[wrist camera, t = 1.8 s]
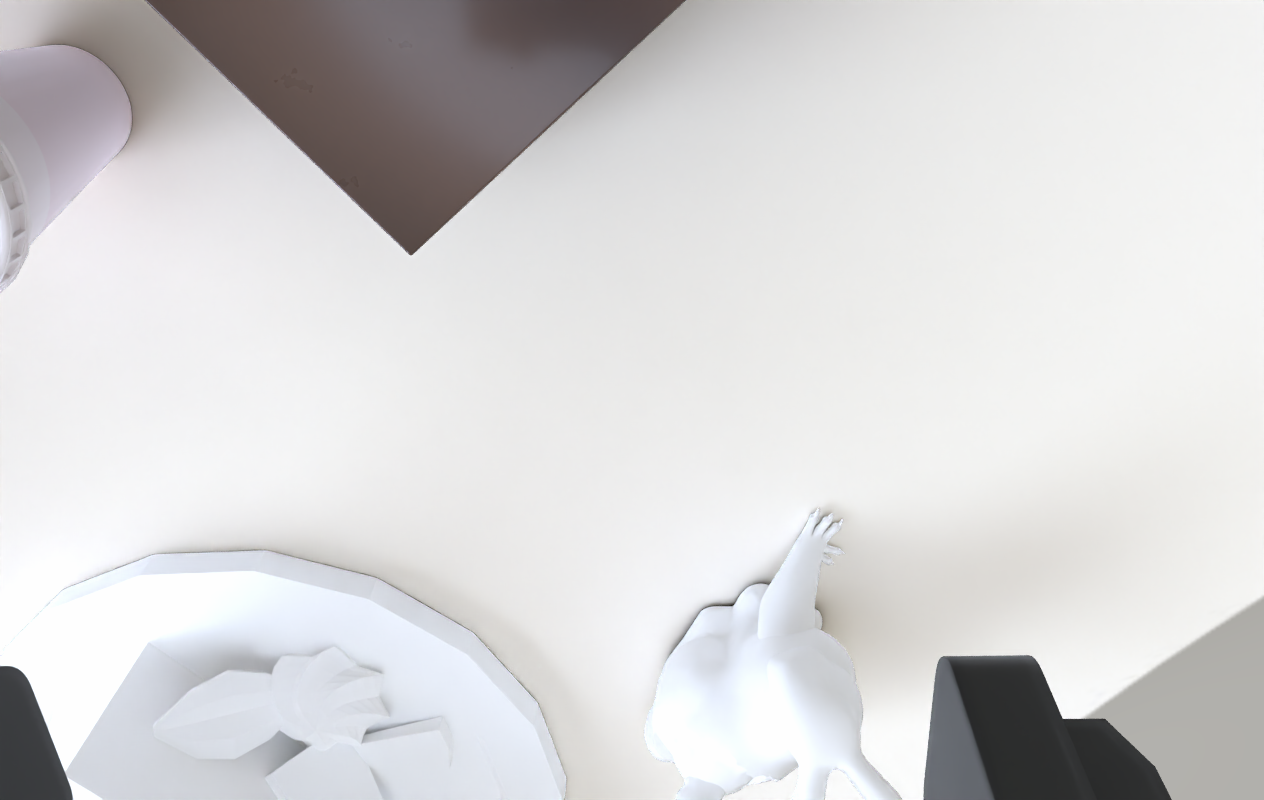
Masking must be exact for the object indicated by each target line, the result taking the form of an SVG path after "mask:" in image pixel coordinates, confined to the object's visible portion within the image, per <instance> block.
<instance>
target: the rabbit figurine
mask: <svg viewBox="0 0 1264 800" xmlns="http://www.w3.org/2000/svg"><path fill="white" fill-rule="evenodd" d="M819 512H820V508H818V509H817V511H816V512H815V513H811V514H810V516H809V520H808V522H807V523H806V525H805V528H804V529H803V531H802V533H801V534H800V536H799V537H798V539H797V540H796V542H795V544H794V545H793V547H792V549H791V551H790V553H789V555H788V557H787V558H786V560H785V562H784V563H783V565H782V567H781V568H780V570H779V571H778V573H777V574H776V576H775V577H774V579H773V580H772V582H771V583H770V585H767V584H754V585H751V586H749V587H747V588H746V589H745V590H744V591H743V592H742V594H741V595H740V596H739V598H738V599H737V601H736V603H735V604H734V606H729V607H727V606H714V607H708V608H705V609H703V610H702V611H701V612H700V614H699V615H698V617H697V618H696V620H695V621H694V623H693V624H692V626H691V627H690V629H689V630H688V632H687V633H686V635H685V636H684V638H683V639H682V640H681V642H680V643H679V644H678V645H677V647H676V648H675V649H674V651H673V653H672V654H671V655H670V656H669V657H668V659H667V660H666V662H665V664H664V667H663V670H662V674H661V676H660V678H659V681H658V686H657V692H656V697H655V701H654V705H653V706H652V708H651V709H650V711H649V713H648V716H647V720H646V725H645V731H644V738H645V741H646V744H647V747H648V749H649V751H650V752H651V754H652V755H653V756H654V757H655V758H656V759H658V760H660V761H663V762H673V763H674V764H676V766H677V768H678V770H679V772H680V773H681V775H682V776H683V778H684V779H685V782H684V785H683V787H682V788H681V789H680V790H679V791H678V793H677V796H676V800H722V798H723V797H724V795H729V794H732V793H735V792H737V791H739V790H741V789H742V788H743V787H745V786H747V785H750V784H752V783H756V784H759V783H763V782H767V781H771V780H775V781H776V782H777V781H779V780H781V779H783V778H784V777H785V776H787V775H788V774H789V773H790V772H792V771H793V770H795V769H796V768H798V767H799V776H798V781H797V785H796V789H795V792H794V795H793V798H792V800H825V792H826V786H827V780H828V776H829V774H830V773H831V772H832V770H836V769H839V770H841V771H843V772H844V773H845V774H846V776H847V777H848V779H849V780H850V782H851V783H852V784H853V785H854V787H855V788H856V789H857V791H858V792H859V793H860V795H861V796H862V797H863V799H864V800H902V798H901V797H900V795H899V794H898V792H897V791H896V790H895V789H894V788H893V787H892V786H891V785H890V784H889V783H888V781H886V780H885V779H884V778H883V777H882V775H881V774H880V773H879V772H878V771H877V770H876V769H875V768H874V767H873V766H872V765H871V764H870V763H869V762H868V761H867V759H866V758H865V756H864V755H863V753H862V751H861V747H860V739H861V735H860V730H861V724H862V719H863V704H862V699H861V695H860V692H859V689H858V686H857V684H856V675H855V669H854V665H853V662H852V660H851V658H850V656H849V654H848V653H847V651H846V650H845V648H844V647H843V646H842V645H841V644H840V643H839V642H838V641H837V640H836V639H835V638H833V637H832V636H830V635H829V634H827V633H825V632H823V631H821V627H822V622H823V621H822V616H821V614H820V612H819V611H818V610H817V609H815V599H816V592H817V586H818V581H819V575H820V568H821V562H824V563H825V564H827V565H834V563H833V561H832V559H831V558H830V557H829V556H827V555H825V554H824V553H832V554H835V555H840V554H845V552H843V551H841V549H840V548H837V547H832V546H830V545H828V544H827V542H828V541H829V539H830V538H831V537H832V536H833V535H834V534H835V533H836V532H837V531H839V530H840V529H841V525H842V523H843V520H844V519H841V521H840V522H839V523H833V524H832V525H831V527H830V528H828V529H827V530H826V528H827V527H828V526H829V525H830V524H831V523H832V517H833V514H830V515H829V516H828V517H826V516H825V517H823V519H822V520H821V522H820V523H819V524H818V525H817V526H816V528H815V525H816V523H817V521H818V519H819V517H818V515H819ZM814 528H815V529H814ZM813 530H814V531H813ZM825 530H826V531H825Z"/></svg>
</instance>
